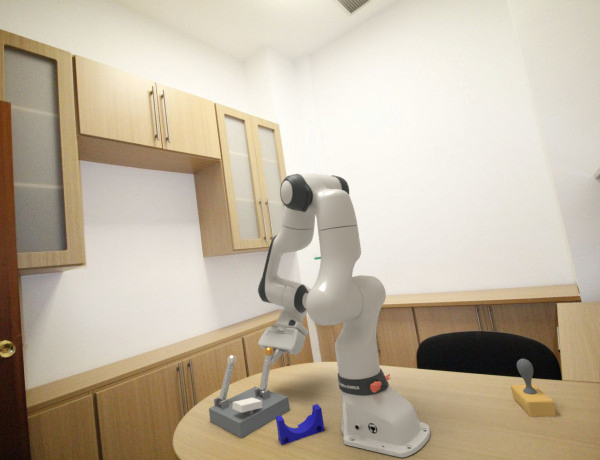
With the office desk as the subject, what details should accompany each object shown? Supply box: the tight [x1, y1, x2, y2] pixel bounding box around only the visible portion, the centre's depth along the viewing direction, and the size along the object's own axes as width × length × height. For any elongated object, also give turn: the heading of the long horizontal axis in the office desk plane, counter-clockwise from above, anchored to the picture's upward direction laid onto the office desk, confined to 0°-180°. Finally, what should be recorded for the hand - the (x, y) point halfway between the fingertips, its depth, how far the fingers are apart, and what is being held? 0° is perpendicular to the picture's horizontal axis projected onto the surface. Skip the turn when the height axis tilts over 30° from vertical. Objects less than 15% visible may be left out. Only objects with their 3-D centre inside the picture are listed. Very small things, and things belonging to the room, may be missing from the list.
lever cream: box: [217, 354, 237, 406], centre depth 103 cm, size 3×3×15 cm
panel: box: [208, 386, 291, 439], centre depth 100 cm, size 18×18×6 cm
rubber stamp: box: [510, 358, 557, 418], centre depth 81 cm, size 10×6×12 cm, turn 166°
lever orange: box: [258, 347, 273, 396], centre depth 105 cm, size 3×3×15 cm
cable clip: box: [275, 403, 325, 446], centre depth 85 cm, size 12×4×6 cm, turn 108°
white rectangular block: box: [232, 398, 262, 413], centre depth 93 cm, size 5×7×2 cm
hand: (270, 362), depth 107 cm, fingers closed, pressing on lever orange
